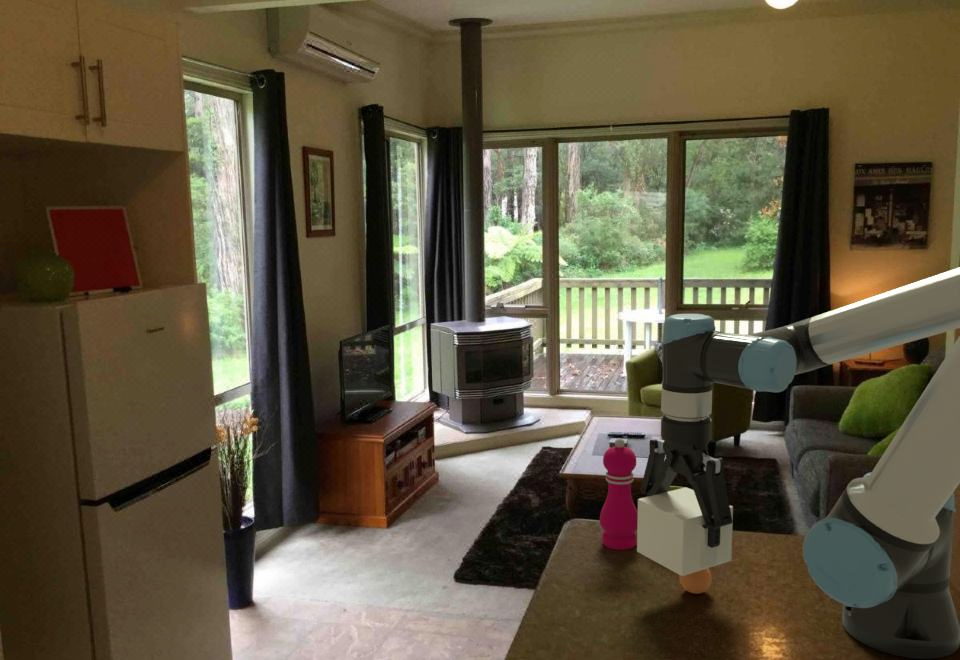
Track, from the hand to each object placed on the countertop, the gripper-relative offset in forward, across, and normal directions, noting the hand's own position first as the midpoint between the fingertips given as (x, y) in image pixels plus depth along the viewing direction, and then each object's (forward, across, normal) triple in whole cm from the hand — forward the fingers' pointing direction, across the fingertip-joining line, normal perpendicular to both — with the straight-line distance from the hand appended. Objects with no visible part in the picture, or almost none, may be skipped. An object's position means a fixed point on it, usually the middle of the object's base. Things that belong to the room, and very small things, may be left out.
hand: (682, 551), depth 128 cm
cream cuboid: (+1, 0, 0) cm, 1 cm away
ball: (+5, 0, -3) cm, 6 cm away
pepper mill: (+8, +22, -5) cm, 24 cm away
